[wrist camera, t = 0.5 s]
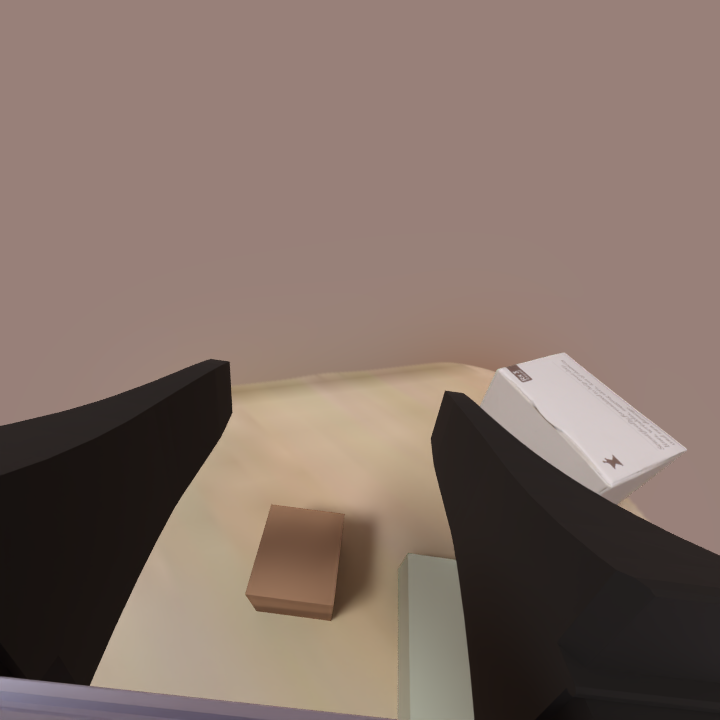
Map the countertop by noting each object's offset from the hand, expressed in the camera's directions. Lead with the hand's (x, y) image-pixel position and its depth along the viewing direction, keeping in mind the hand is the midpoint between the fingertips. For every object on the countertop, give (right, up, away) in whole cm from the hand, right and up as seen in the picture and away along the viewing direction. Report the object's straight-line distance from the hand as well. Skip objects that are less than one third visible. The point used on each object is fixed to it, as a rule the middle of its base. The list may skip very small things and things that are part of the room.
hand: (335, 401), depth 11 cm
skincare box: (+12, -12, +17) cm, 24 cm away
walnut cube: (-3, -14, +12) cm, 19 cm away
